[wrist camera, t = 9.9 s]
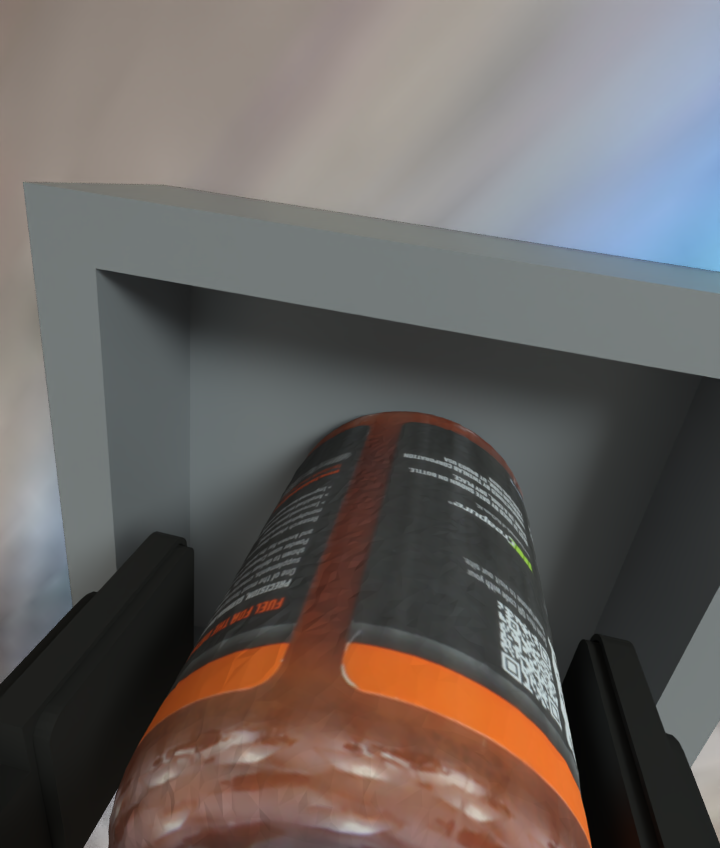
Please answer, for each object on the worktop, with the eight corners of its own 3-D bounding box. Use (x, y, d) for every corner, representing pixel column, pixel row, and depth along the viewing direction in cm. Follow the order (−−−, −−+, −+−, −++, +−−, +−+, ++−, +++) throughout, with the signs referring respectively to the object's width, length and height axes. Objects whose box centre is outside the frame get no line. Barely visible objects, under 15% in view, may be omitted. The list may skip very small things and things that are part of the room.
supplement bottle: (275, 553, 15) (-103, 1264, 5) (331, 366, 13) (-198, 1046, 3) (472, 627, 15) (479, 1525, 5) (570, 452, 13) (993, 1566, 2)
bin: (163, 184, 13) (22, 181, 9) (782, 281, 11) (958, 331, 7) (170, 621, 19) (88, 740, 15) (580, 724, 17) (616, 889, 13)
